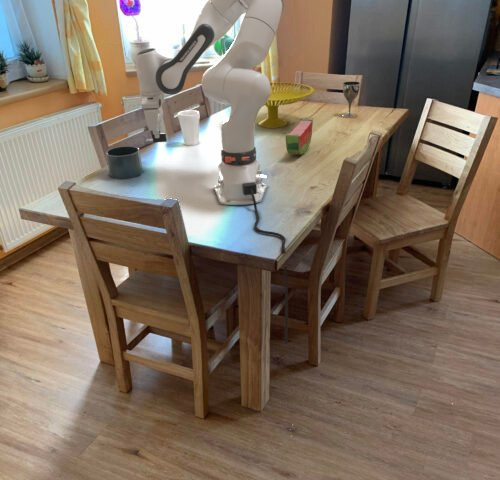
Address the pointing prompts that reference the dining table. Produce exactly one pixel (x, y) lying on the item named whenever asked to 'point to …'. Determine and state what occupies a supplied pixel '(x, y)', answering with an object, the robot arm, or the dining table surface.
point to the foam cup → (189, 126)
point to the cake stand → (282, 102)
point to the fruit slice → (299, 137)
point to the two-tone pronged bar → (160, 139)
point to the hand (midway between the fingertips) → (157, 136)
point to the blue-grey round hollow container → (124, 162)
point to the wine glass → (350, 94)
